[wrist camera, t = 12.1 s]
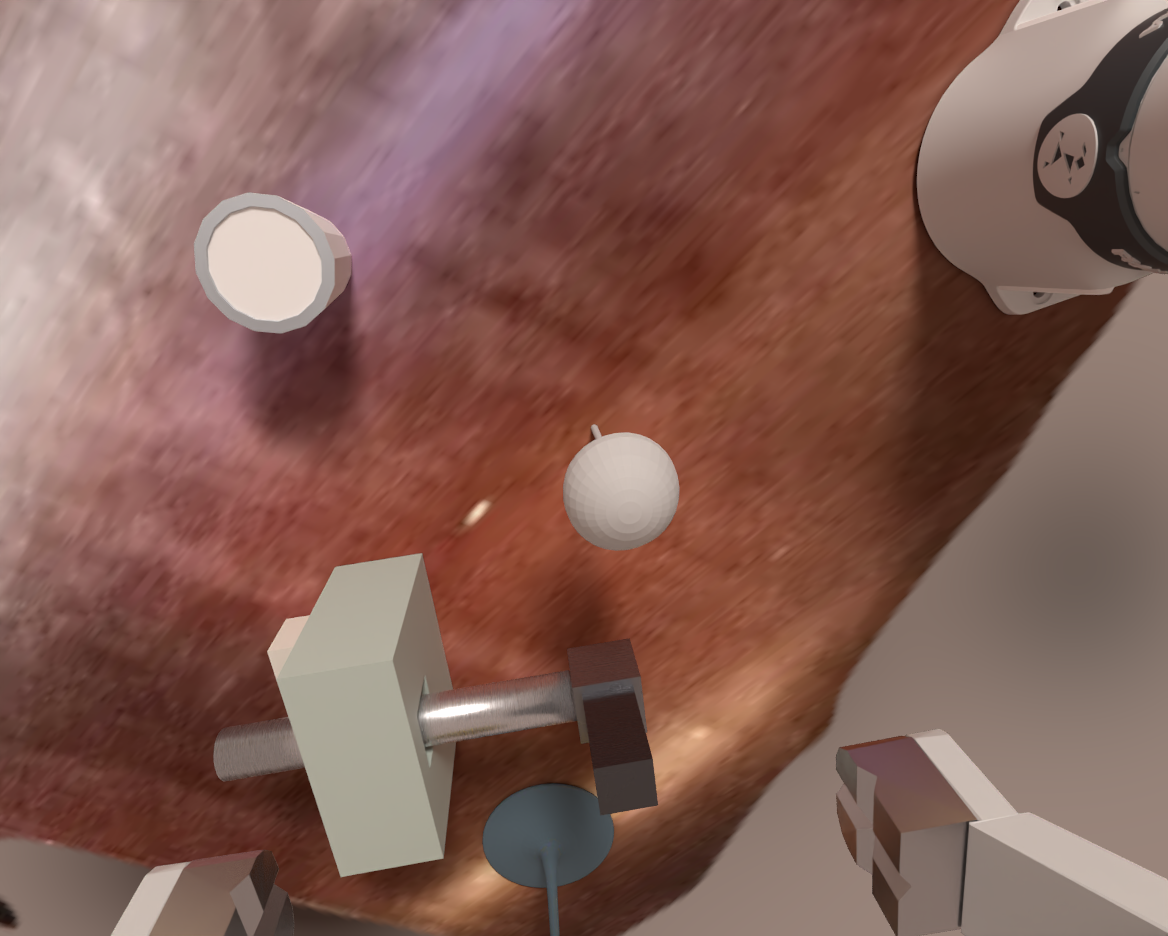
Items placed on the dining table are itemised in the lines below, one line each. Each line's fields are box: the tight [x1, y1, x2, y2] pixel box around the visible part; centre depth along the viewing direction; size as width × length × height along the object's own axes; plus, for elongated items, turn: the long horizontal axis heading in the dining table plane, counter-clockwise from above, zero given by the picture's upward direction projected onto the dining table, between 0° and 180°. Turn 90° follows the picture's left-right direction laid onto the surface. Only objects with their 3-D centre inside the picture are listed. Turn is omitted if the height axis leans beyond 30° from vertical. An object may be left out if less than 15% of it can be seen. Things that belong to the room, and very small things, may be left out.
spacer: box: [267, 615, 310, 717], centre depth 49 cm, size 4×7×4 cm, turn 8°
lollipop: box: [563, 425, 679, 550], centre depth 40 cm, size 6×6×15 cm
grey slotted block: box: [276, 553, 456, 877], centre depth 45 cm, size 6×14×13 cm, turn 8°
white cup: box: [194, 193, 351, 333], centre depth 38 cm, size 7×7×7 cm
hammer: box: [214, 639, 658, 816], centre depth 40 cm, size 25×4×10 cm, turn 98°
